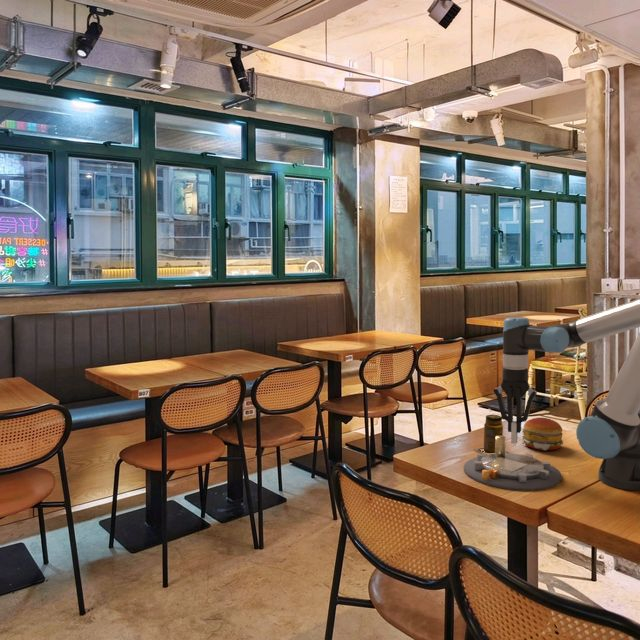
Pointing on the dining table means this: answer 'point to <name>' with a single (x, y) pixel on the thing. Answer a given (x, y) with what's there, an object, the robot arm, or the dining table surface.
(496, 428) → the condiment
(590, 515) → the dining table surface
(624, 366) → the robot arm
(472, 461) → the base
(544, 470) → the grey disc with blocks
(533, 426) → the burger
